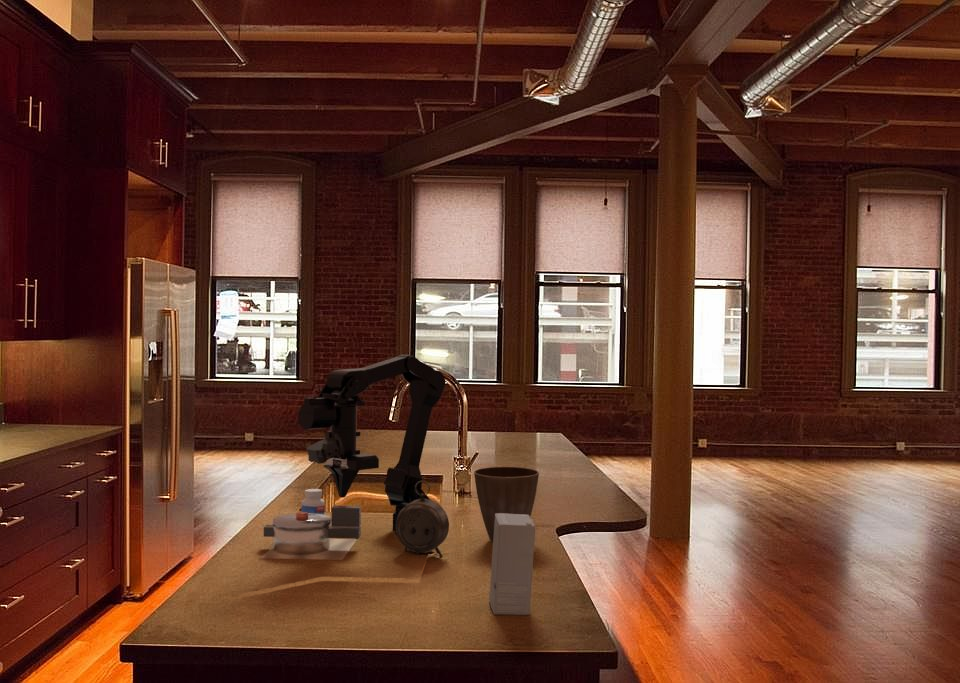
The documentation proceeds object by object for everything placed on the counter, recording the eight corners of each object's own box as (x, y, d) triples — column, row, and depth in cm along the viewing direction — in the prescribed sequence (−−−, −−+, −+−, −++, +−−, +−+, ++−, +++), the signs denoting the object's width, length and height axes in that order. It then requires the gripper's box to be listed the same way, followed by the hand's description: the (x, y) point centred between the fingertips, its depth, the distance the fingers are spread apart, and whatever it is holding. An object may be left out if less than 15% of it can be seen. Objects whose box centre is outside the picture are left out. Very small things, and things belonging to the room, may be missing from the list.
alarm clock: (449, 555, 190) (450, 480, 190) (441, 562, 185) (442, 484, 185) (401, 551, 193) (402, 477, 193) (392, 557, 188) (393, 481, 188)
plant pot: (508, 552, 194) (509, 479, 194) (459, 540, 204) (460, 471, 204) (551, 541, 205) (552, 471, 205) (502, 530, 215) (503, 464, 215)
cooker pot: (257, 554, 186) (257, 530, 186) (272, 540, 198) (272, 518, 198) (354, 556, 185) (355, 532, 185) (363, 542, 197) (364, 520, 197)
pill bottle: (318, 534, 208) (319, 492, 208) (297, 532, 210) (297, 491, 209) (327, 529, 214) (328, 488, 214) (306, 527, 215) (307, 487, 215)
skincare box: (488, 601, 158) (489, 512, 158) (528, 600, 159) (529, 512, 159) (493, 616, 150) (494, 522, 150) (535, 615, 150) (536, 522, 150)
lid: (266, 531, 185) (266, 511, 185) (279, 518, 198) (279, 500, 198) (356, 532, 186) (356, 512, 186) (363, 519, 198) (363, 501, 198)
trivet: (357, 542, 200) (357, 539, 200) (342, 563, 182) (342, 559, 182) (282, 541, 201) (282, 537, 201) (260, 561, 183) (260, 557, 183)
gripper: (288, 425, 197) (287, 495, 197) (339, 433, 184) (337, 508, 184) (330, 422, 205) (328, 490, 205) (381, 429, 192) (379, 501, 192)
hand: (342, 497), depth 197 cm, fingers closed
